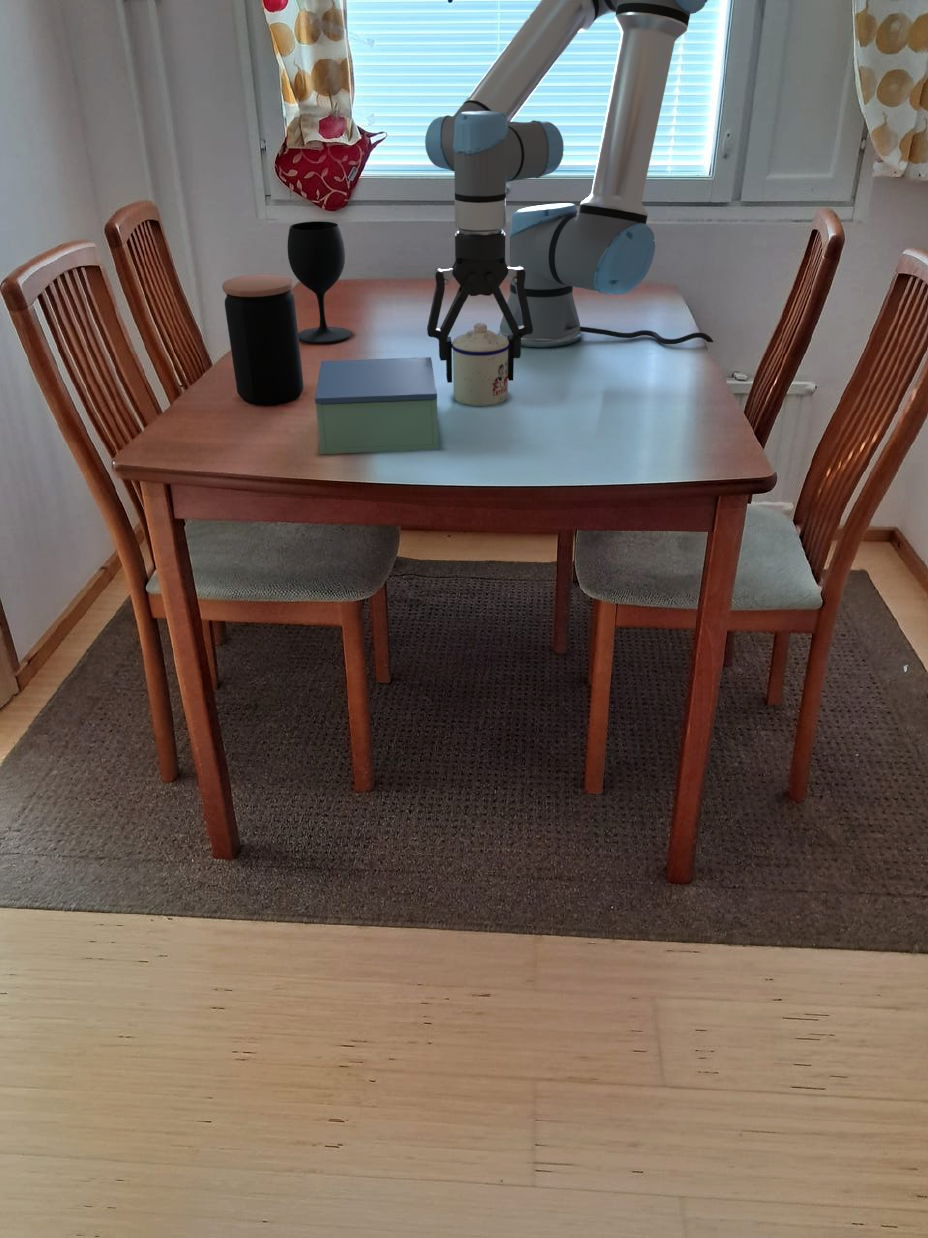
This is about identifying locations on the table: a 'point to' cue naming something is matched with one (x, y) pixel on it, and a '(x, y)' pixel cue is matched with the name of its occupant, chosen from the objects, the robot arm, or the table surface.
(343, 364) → the lunchbox lid
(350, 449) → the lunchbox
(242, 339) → the coffee jar
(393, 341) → the table surface
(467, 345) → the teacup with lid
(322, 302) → the wine glass
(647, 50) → the robot arm
